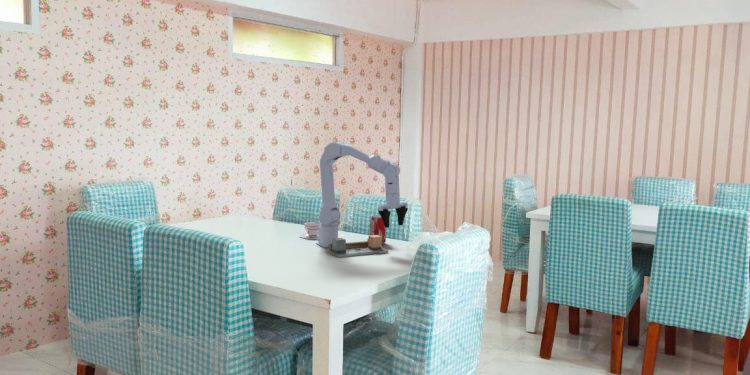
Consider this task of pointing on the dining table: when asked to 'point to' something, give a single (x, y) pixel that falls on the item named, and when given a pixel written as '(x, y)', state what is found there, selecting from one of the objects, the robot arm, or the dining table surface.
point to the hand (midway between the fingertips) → (393, 226)
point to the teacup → (311, 230)
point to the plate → (357, 251)
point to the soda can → (378, 227)
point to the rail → (353, 244)
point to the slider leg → (374, 242)
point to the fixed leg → (339, 245)
